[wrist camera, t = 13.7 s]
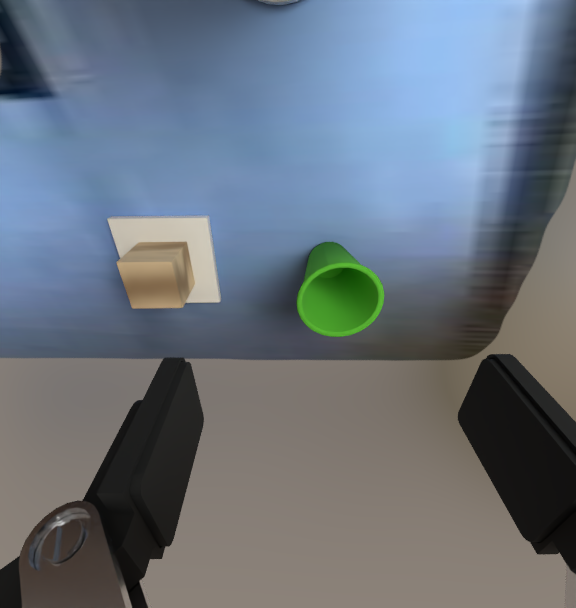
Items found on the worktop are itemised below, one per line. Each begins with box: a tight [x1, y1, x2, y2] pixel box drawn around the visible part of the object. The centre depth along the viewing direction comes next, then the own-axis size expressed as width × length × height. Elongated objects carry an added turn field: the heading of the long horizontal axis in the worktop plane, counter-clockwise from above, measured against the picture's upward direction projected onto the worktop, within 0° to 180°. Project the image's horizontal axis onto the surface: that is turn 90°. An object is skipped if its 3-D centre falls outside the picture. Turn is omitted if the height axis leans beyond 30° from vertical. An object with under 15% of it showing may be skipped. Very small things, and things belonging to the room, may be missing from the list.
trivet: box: [107, 216, 221, 303], centre depth 40 cm, size 12×12×1 cm
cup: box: [296, 242, 384, 337], centre depth 36 cm, size 9×9×11 cm
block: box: [116, 242, 195, 309], centre depth 37 cm, size 6×6×6 cm
